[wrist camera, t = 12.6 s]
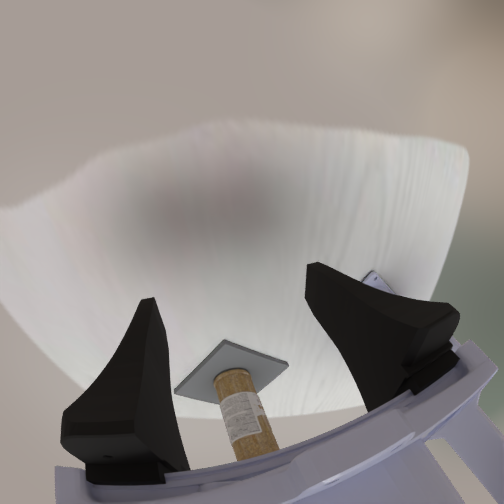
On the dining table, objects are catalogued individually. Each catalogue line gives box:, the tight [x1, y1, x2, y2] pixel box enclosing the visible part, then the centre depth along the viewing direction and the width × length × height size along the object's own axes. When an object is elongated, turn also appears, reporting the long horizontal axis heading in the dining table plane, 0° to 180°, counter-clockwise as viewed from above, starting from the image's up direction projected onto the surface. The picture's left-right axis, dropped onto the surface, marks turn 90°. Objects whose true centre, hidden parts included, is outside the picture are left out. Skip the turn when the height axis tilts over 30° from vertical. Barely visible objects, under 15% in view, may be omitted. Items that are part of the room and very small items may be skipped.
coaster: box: [174, 340, 289, 405], centre depth 30 cm, size 10×10×1 cm
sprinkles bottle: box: [213, 369, 280, 461], centre depth 24 cm, size 5×5×13 cm
